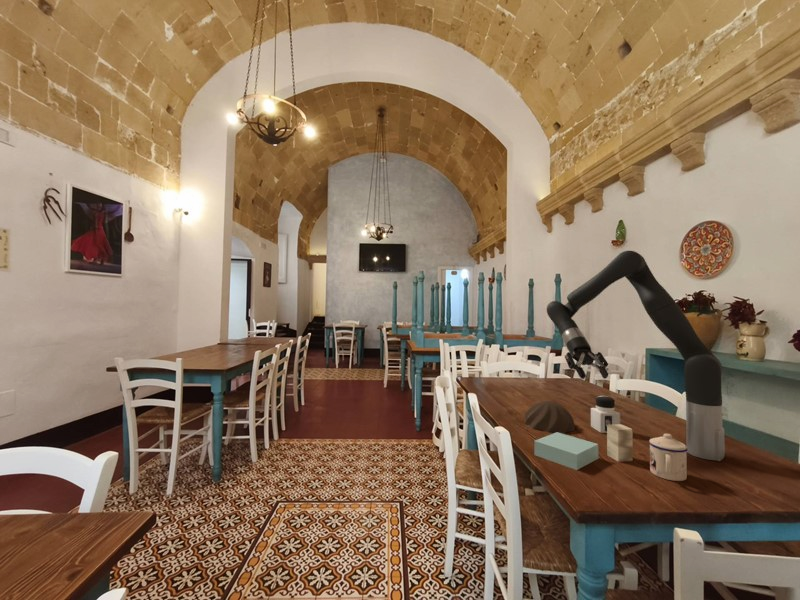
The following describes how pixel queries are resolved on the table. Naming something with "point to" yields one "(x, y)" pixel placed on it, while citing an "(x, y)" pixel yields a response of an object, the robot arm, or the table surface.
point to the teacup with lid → (668, 458)
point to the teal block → (566, 450)
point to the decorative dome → (549, 417)
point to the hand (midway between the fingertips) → (595, 377)
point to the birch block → (619, 442)
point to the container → (604, 414)
